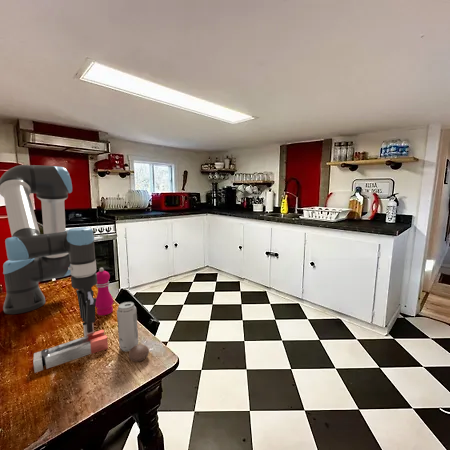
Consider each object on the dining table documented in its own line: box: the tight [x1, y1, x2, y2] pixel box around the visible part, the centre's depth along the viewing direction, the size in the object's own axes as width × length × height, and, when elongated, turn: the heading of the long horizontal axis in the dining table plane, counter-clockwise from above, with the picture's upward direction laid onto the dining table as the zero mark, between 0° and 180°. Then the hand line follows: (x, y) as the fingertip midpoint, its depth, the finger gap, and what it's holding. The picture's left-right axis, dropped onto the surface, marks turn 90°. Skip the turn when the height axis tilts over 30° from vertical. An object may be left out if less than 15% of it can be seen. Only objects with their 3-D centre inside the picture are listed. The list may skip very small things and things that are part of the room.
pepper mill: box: [95, 267, 114, 316], centre depth 109 cm, size 7×7×20 cm
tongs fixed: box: [32, 334, 109, 374], centre depth 81 cm, size 20×5×4 cm, turn 125°
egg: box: [128, 344, 150, 362], centre depth 79 cm, size 6×6×4 cm
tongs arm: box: [47, 329, 106, 354], centre depth 84 cm, size 16×2×4 cm, turn 130°
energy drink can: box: [116, 301, 139, 352], centre depth 84 cm, size 6×6×15 cm
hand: (89, 339), depth 88 cm, fingers closed
